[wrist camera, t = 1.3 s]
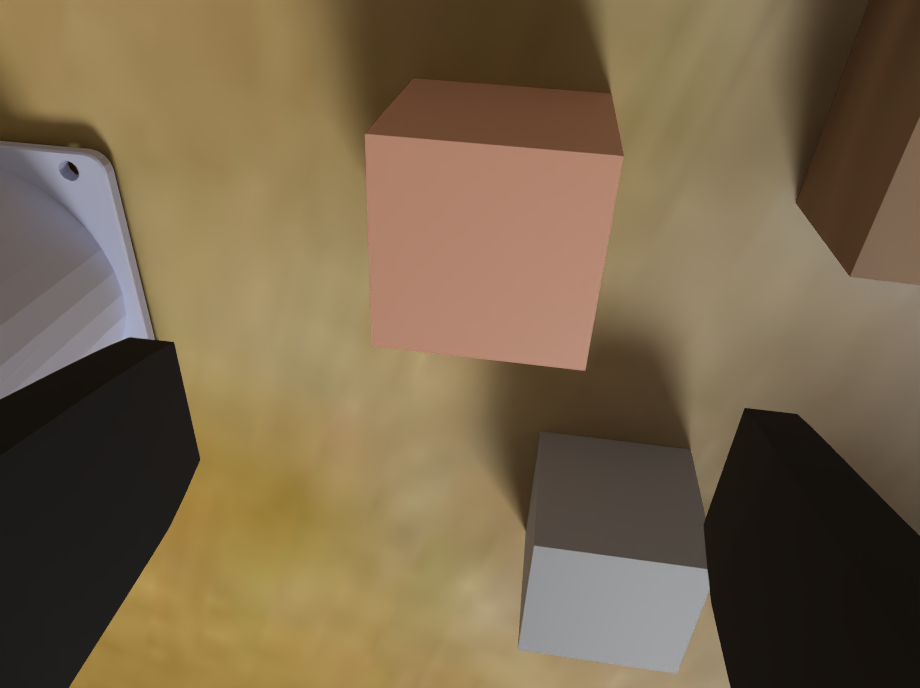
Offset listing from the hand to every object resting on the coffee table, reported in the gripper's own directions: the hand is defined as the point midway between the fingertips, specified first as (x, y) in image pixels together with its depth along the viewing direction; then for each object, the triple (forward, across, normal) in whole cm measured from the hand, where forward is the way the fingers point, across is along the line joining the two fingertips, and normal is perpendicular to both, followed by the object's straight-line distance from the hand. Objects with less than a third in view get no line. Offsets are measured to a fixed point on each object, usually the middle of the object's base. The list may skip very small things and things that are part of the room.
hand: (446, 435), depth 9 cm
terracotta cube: (+10, 0, 0) cm, 10 cm away
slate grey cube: (+10, -4, +10) cm, 14 cm away
